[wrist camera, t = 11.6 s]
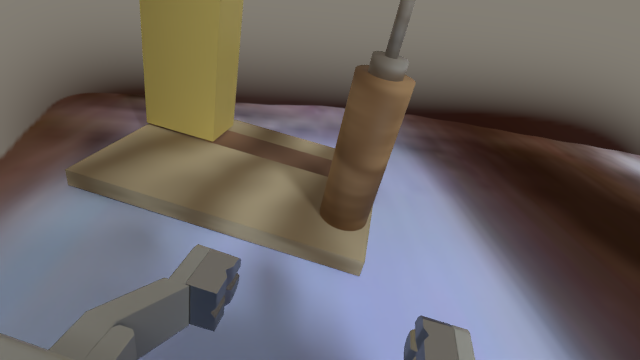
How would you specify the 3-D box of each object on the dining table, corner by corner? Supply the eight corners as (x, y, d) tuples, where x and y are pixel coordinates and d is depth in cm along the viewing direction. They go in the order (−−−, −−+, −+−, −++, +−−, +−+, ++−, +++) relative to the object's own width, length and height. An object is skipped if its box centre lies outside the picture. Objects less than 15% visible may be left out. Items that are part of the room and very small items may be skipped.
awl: (364, 204, 26) (440, -22, 18) (369, 234, 23) (462, -19, 15) (320, 196, 26) (377, -37, 18) (319, 226, 23) (388, -37, 15)
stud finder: (213, 141, 29) (221, -21, 23) (147, 122, 29) (136, -43, 23) (233, 124, 32) (245, -20, 26) (174, 107, 33) (172, -39, 27)
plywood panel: (375, 171, 33) (379, 161, 33) (359, 276, 21) (364, 262, 21) (183, 116, 35) (183, 104, 34) (68, 184, 23) (64, 169, 22)
